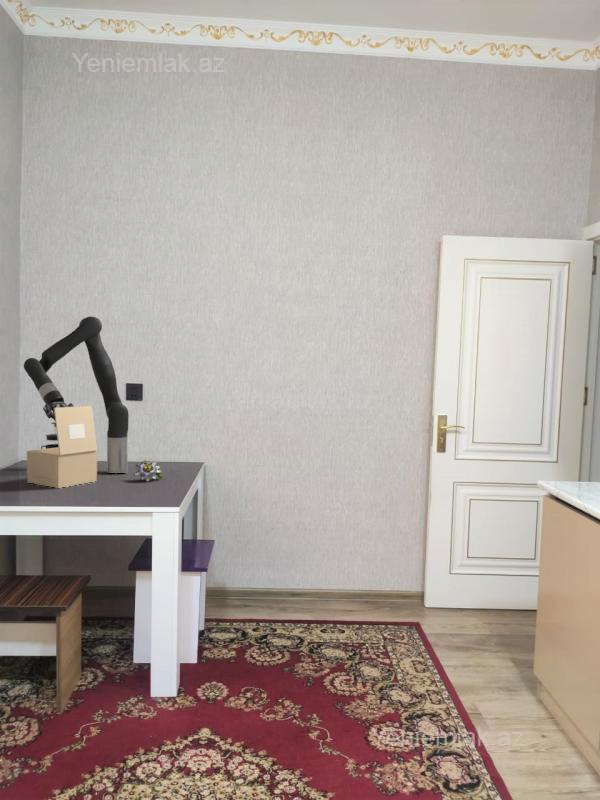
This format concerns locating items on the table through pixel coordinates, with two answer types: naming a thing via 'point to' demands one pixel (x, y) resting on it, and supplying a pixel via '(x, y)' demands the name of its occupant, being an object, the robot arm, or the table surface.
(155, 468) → the passion flower
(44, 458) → the carton
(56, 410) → the carton flap
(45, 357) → the robot arm
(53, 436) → the french press
